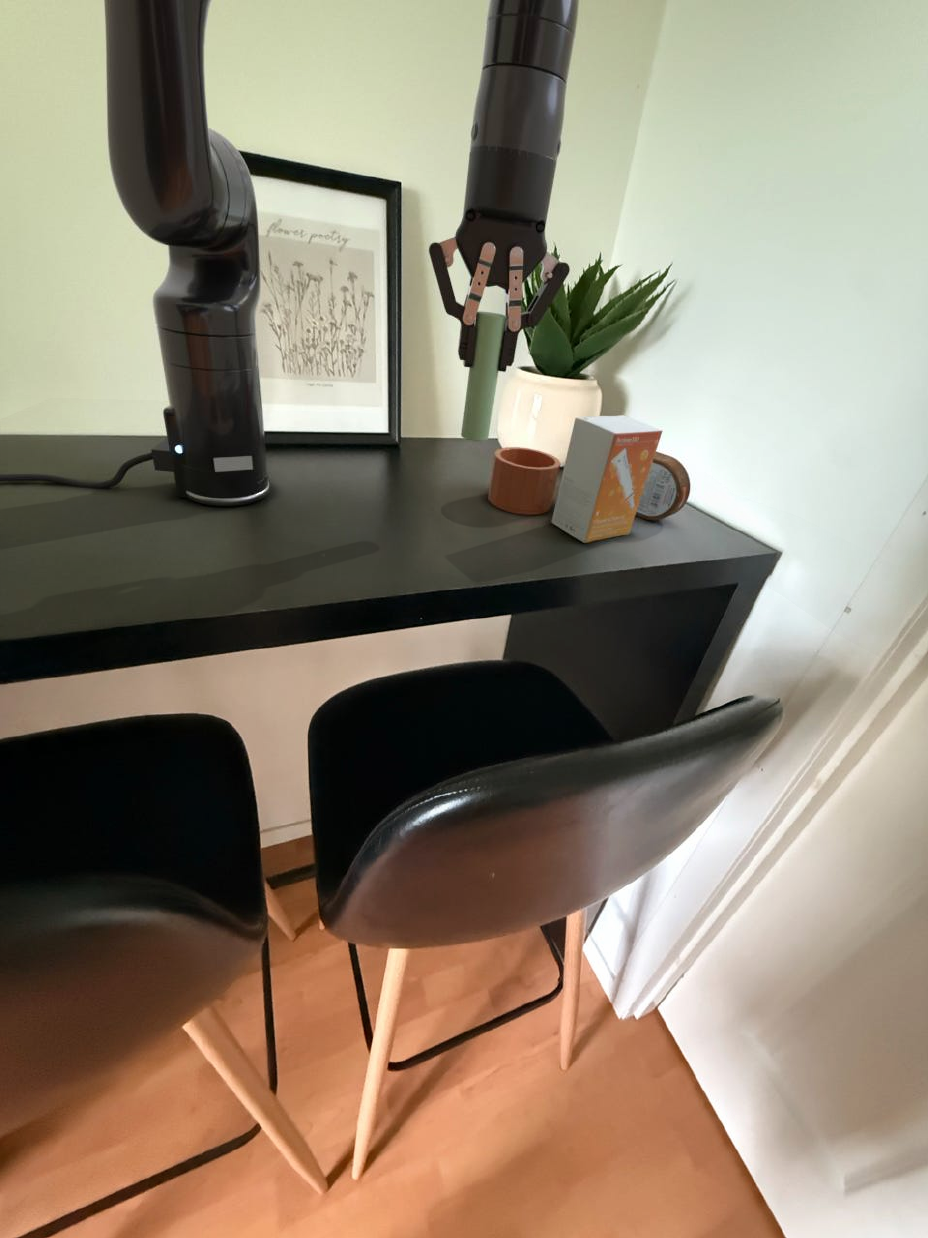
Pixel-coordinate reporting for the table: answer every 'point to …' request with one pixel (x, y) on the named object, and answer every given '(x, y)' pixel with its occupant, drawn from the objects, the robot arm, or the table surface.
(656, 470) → the tin
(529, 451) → the holder
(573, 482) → the small box
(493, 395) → the candle
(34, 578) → the table surface
